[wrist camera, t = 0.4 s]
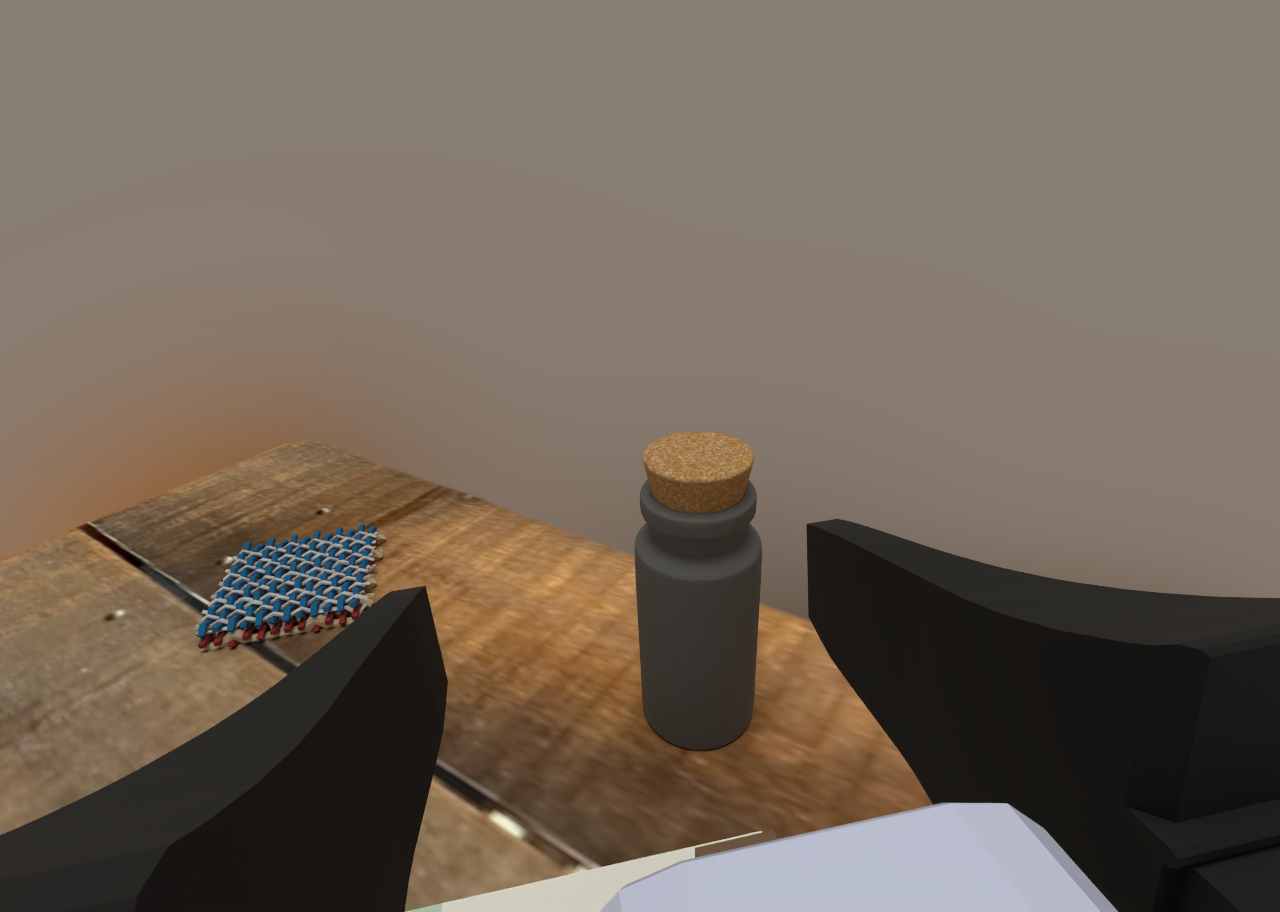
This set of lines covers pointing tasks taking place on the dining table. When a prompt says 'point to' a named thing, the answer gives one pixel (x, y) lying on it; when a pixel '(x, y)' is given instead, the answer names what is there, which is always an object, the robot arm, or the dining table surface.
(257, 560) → the woven mat
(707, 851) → the bar
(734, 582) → the bottle
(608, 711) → the dining table surface
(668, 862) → the bench
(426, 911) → the tray
